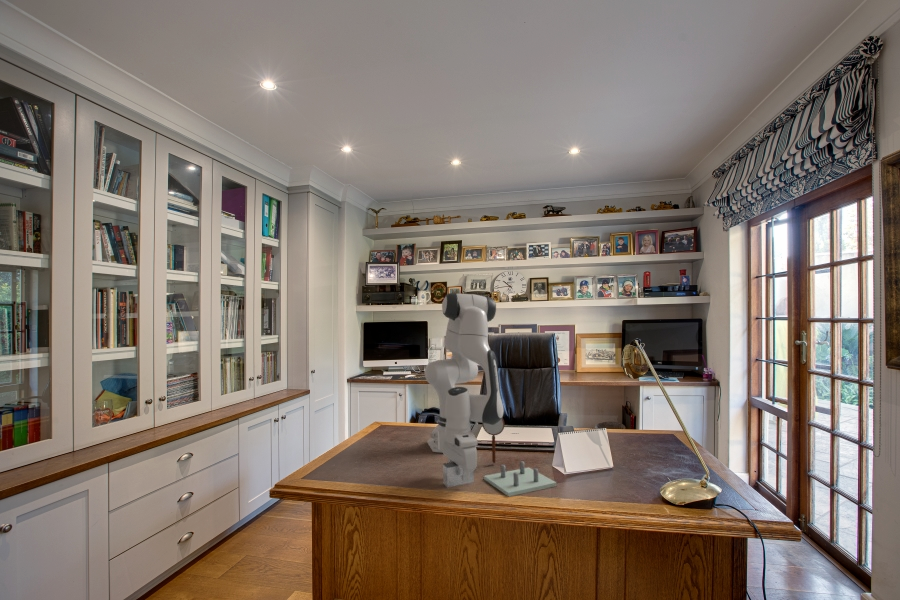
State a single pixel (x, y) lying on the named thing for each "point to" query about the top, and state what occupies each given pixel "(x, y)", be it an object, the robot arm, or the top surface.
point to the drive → (455, 475)
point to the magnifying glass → (494, 431)
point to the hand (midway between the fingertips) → (458, 475)
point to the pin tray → (519, 480)
